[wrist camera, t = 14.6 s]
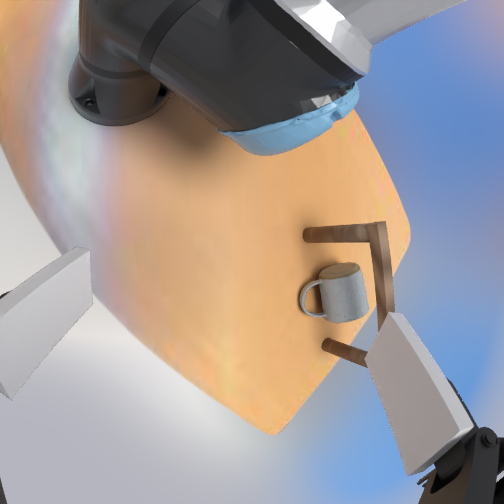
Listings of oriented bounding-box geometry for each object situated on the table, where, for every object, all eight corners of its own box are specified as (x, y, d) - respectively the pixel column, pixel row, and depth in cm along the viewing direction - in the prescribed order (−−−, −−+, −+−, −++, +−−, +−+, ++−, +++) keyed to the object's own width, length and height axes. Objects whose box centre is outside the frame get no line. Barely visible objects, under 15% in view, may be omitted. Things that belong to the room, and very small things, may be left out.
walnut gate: (301, 229, 42) (376, 224, 30) (312, 226, 43) (386, 220, 31) (322, 352, 45) (386, 378, 33) (332, 346, 47) (395, 370, 34)
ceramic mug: (338, 259, 46) (371, 261, 40) (345, 301, 48) (377, 308, 41) (291, 280, 42) (325, 286, 35) (301, 326, 43) (334, 338, 36)
